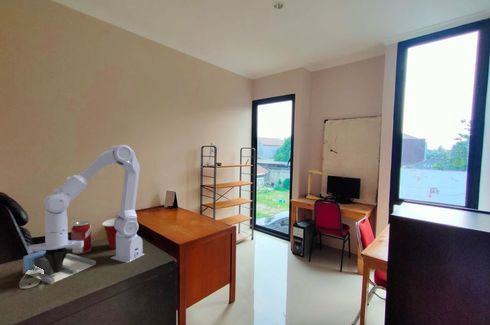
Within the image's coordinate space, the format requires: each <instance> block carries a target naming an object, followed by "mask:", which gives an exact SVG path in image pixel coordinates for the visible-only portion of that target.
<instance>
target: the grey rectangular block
mask: <svg viewBox="0 0 490 325" xmlns="http://www.w3.org/2000/svg"><path fill="white" fill-rule="evenodd" d="M34 265H35V266H37V267H39V268H41V269H43V270H44V274H46V275H48V276H50V275H53V274H55V273H53V269H52V267H51V265H50V263H49V261H48V260H47V259H46V258H45V257H44V256H41V257H38V258H35V259H33V266H34ZM60 271H61V270H60ZM60 271H59V272H60Z"/></svg>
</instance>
